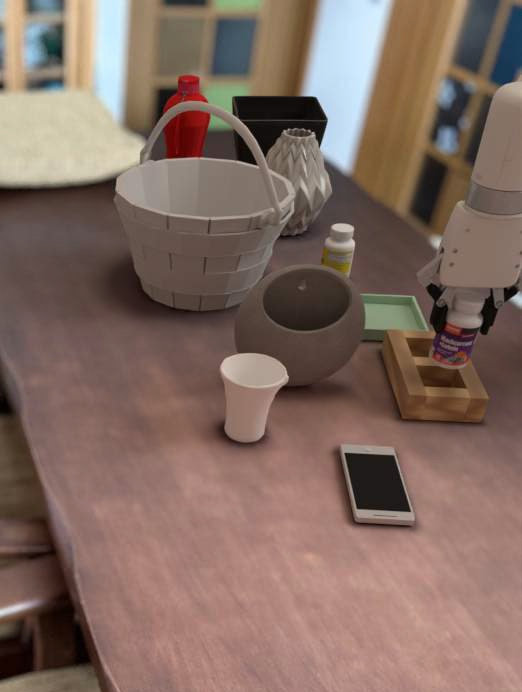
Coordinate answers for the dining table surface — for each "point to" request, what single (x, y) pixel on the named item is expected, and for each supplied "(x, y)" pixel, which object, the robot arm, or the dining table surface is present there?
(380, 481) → the smartphone
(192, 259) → the basket
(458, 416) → the frame
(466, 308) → the pill bottle
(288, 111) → the flower pot
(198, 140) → the water bottle
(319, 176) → the vase
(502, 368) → the dining table surface
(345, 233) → the supplement bottle
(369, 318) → the tray
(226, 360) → the cup
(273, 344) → the planter
